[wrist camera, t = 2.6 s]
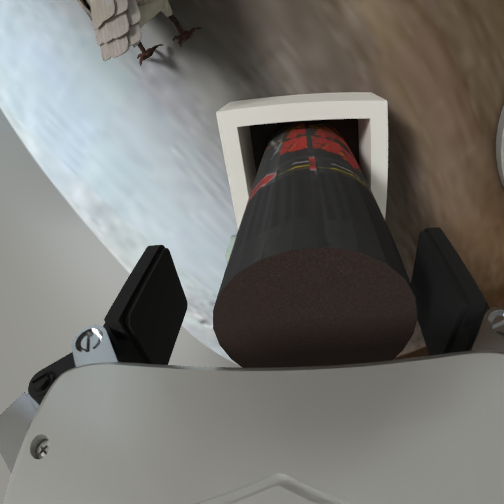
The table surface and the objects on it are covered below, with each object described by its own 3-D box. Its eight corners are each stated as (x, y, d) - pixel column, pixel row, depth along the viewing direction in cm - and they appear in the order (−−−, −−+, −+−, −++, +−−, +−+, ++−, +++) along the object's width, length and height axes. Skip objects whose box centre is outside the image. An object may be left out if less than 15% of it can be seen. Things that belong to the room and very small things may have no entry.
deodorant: (363, 177, 21) (431, 354, 9) (291, 211, 23) (276, 399, 11) (324, 102, 18) (381, 205, 6) (247, 144, 21) (170, 298, 9)
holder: (371, 92, 17) (387, 100, 14) (371, 216, 23) (382, 246, 19) (230, 101, 19) (215, 112, 16) (250, 222, 24) (242, 252, 21)
